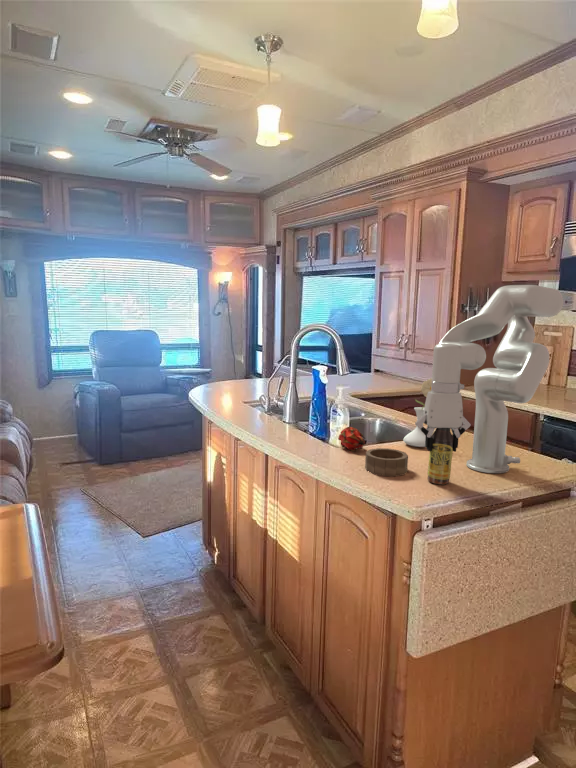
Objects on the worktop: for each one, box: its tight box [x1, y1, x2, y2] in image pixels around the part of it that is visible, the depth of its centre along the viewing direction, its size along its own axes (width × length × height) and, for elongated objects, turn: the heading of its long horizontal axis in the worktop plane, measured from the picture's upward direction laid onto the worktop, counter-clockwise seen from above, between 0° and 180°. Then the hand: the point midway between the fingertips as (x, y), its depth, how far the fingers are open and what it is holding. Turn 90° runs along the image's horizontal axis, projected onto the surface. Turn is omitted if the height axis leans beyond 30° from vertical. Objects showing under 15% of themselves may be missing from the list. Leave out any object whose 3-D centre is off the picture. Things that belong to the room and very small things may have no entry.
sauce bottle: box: [427, 428, 454, 485], centre depth 143 cm, size 7×6×20 cm
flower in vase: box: [402, 377, 432, 448], centre depth 182 cm, size 13×11×25 cm
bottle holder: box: [364, 447, 409, 477], centre depth 155 cm, size 12×12×5 cm
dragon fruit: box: [337, 426, 368, 452], centre depth 177 cm, size 8×8×12 cm
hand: (441, 449), depth 143 cm, fingers closed on sauce bottle, 6 cm apart
